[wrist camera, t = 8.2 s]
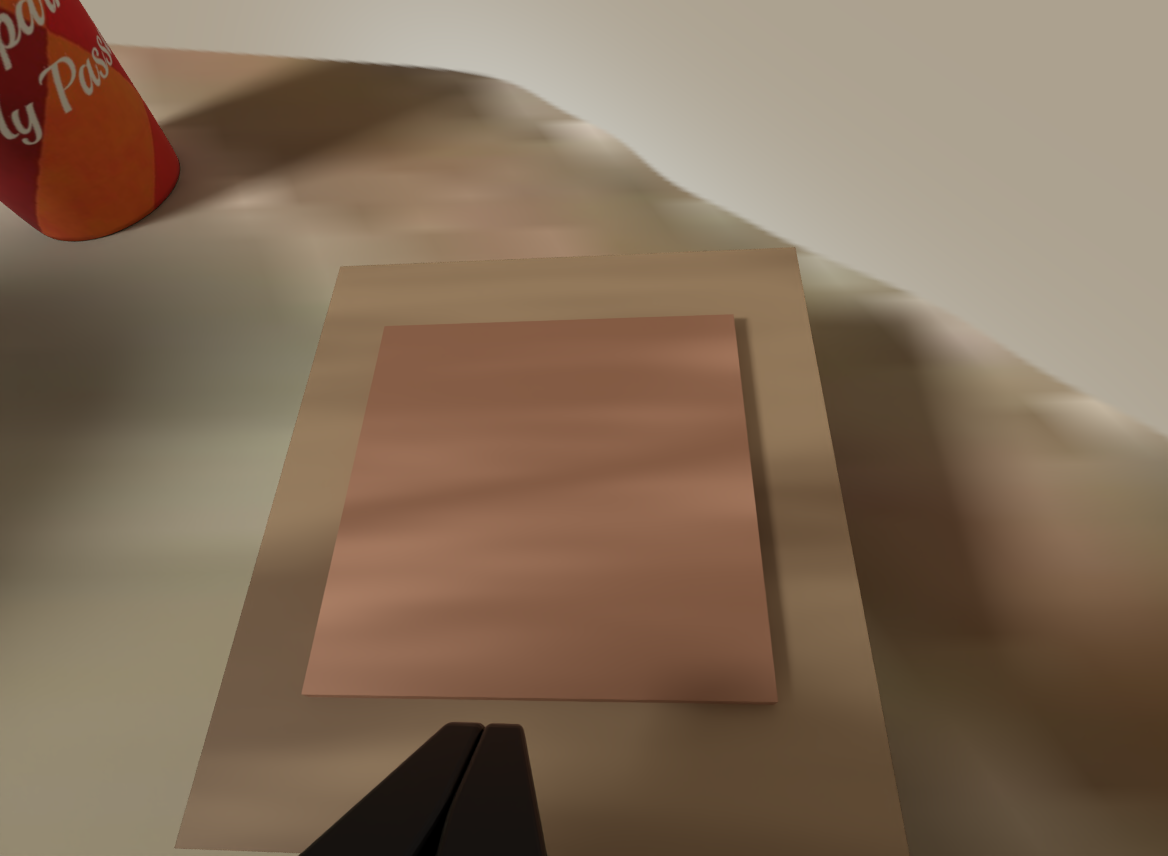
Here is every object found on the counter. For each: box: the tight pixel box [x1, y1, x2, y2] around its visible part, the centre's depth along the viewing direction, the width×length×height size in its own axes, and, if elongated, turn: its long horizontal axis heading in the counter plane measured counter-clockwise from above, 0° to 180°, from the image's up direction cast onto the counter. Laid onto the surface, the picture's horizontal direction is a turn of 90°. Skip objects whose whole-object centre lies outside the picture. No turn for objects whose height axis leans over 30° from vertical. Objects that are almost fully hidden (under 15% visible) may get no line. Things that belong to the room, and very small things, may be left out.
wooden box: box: [174, 247, 910, 856], centre depth 13 cm, size 5×10×11 cm
